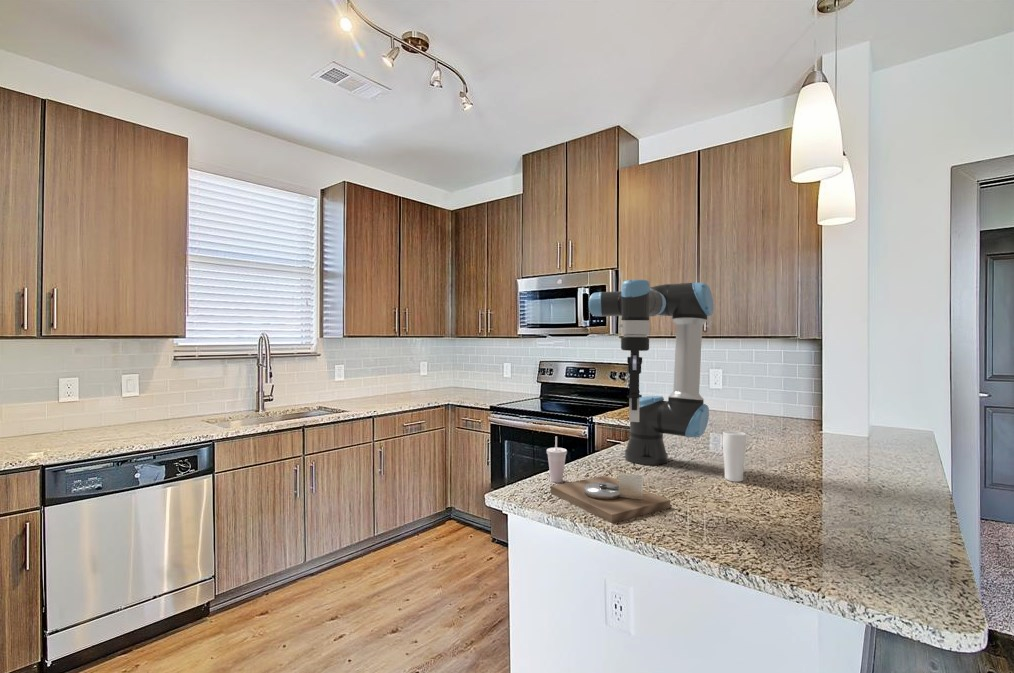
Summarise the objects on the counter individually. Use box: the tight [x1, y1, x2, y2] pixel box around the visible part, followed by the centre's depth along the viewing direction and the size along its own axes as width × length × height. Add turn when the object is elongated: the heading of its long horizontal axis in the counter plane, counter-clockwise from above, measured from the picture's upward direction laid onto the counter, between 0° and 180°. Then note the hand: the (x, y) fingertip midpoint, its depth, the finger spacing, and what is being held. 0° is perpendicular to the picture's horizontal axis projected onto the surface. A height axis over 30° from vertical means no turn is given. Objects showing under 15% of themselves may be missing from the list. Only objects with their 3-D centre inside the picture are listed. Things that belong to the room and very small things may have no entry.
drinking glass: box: [722, 430, 747, 483], centre depth 153 cm, size 7×7×15 cm
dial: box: [584, 472, 644, 500], centre depth 131 cm, size 16×10×6 cm, turn 66°
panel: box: [550, 475, 671, 524], centre depth 133 cm, size 21×25×2 cm
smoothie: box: [546, 436, 568, 484], centre depth 150 cm, size 6×6×14 cm
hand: (634, 421), depth 133 cm, fingers closed
